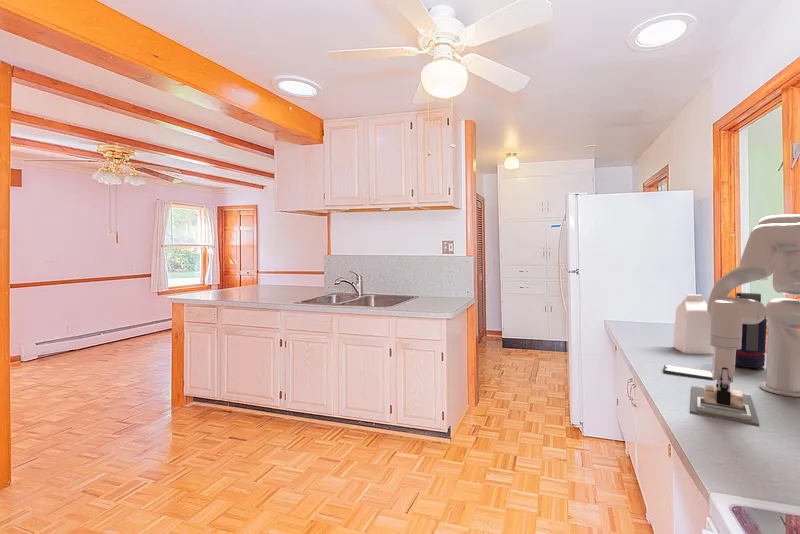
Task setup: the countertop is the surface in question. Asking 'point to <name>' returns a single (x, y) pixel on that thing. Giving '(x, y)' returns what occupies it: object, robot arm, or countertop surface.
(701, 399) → the tray
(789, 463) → the countertop surface
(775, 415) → the countertop surface
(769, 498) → the countertop surface
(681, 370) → the smartphone
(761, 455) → the countertop surface
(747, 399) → the mat
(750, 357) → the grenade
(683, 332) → the milk
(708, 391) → the block
